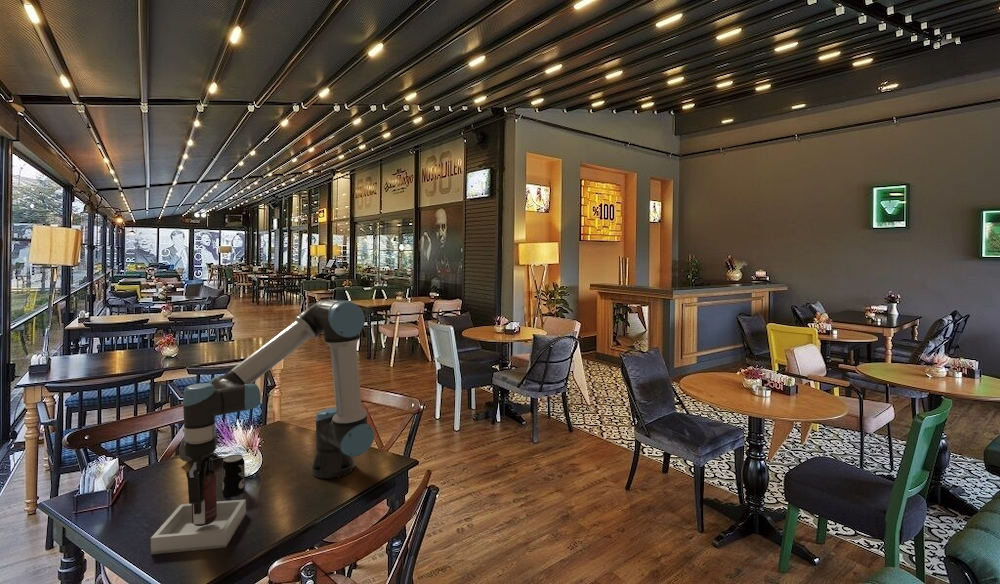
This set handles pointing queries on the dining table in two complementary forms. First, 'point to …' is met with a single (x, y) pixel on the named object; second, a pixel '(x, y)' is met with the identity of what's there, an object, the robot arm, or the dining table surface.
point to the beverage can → (233, 475)
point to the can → (209, 498)
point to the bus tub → (198, 529)
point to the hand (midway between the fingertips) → (202, 519)
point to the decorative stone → (182, 452)
